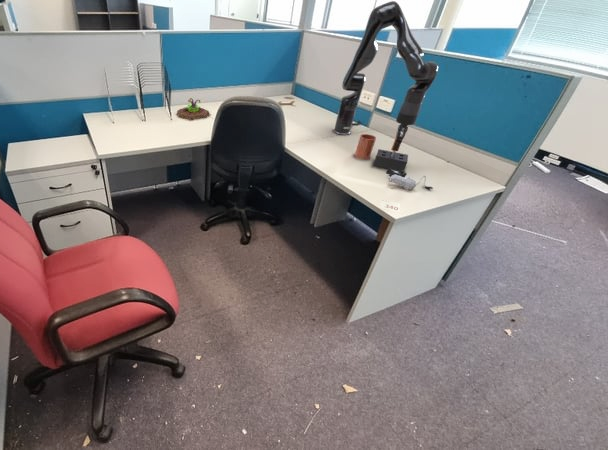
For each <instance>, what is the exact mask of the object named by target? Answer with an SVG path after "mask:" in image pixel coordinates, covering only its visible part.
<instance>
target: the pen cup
mask: <svg viewBox="0 0 608 450" xmlns="http://www.w3.org/2000/svg"><path fill="white" fill-rule="evenodd" d="M376 141H377V137H376V136H375V135H372V134H369V133H368V134H367V133H364V134H361V135H360V136H359V139H358V142H357V145H356V148H355V149H356V150H355V152H354V158H356V159H359V160H365V161H366V160H369V159H370V158H371V155H372V152H373V149H374V147H375V143H376Z"/></svg>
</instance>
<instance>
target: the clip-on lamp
mask: <svg viewBox="0 0 608 450" xmlns="http://www.w3.org/2000/svg"><path fill="white" fill-rule="evenodd" d="M385 174H386V175H388V176H387V180H390V182H391V183H393V184H397V185H399V186H401V187H402V188H403V189H405V190H408V191H411V190H412V189H414V188H416V186H417V185H419V183H420V182H421V181H422V180H423V178H424V180H423V186H424V188H425V189H426V190H434V187H433V186H426V180H427V177H426V175H423V176H422V177H421V178H420V179H419V181H418V182H417V183H416V179H414V178H413V177H406V176H407V174H408V173H407V172H405V170H404V171H401V172H399V171H395V170H392V169H388V170H387V169H386V171H385Z"/></svg>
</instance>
